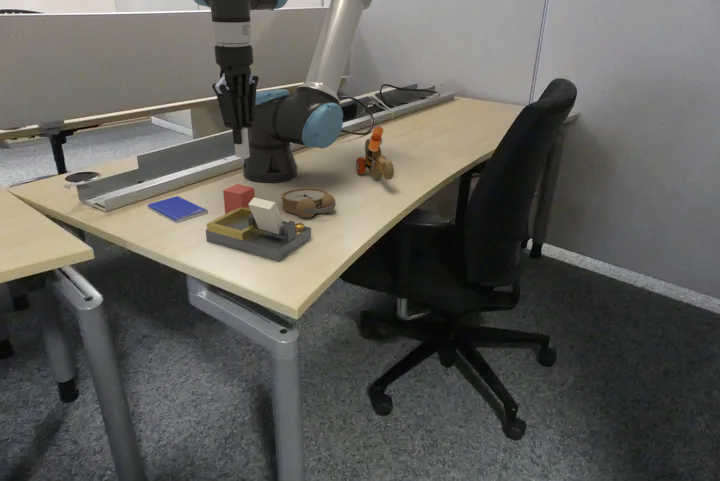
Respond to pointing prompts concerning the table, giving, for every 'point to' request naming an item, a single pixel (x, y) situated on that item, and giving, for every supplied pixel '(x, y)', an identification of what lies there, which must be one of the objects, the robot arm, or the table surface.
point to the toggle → (267, 216)
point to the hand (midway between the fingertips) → (242, 156)
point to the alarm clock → (307, 201)
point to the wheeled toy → (375, 158)
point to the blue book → (177, 209)
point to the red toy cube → (238, 197)
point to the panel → (256, 235)
